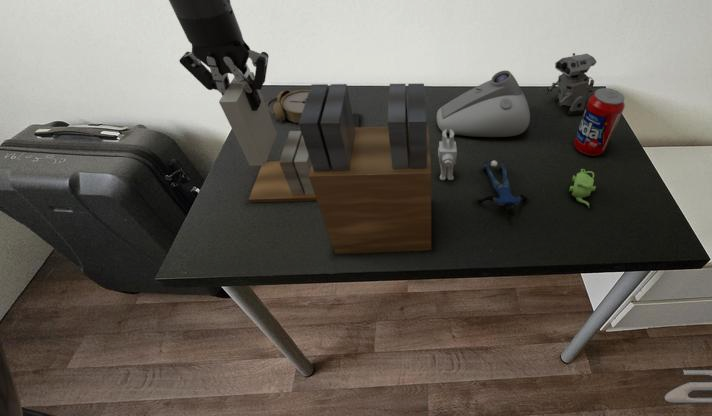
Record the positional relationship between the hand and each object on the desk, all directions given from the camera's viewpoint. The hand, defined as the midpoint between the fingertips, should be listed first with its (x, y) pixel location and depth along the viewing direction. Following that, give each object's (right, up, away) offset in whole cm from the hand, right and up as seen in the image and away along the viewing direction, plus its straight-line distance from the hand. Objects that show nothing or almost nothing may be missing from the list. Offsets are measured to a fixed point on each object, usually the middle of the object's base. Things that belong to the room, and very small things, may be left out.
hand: (246, 108), depth 67 cm
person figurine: (+48, -16, +14) cm, 52 cm away
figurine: (+69, +10, +38) cm, 80 cm away
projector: (+45, +4, +31) cm, 55 cm away
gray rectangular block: (0, -6, +7) cm, 10 cm away
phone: (+10, 0, +27) cm, 29 cm away
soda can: (+72, -3, +26) cm, 77 cm away
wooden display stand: (+2, -12, +14) cm, 19 cm away
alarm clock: (-3, +7, +32) cm, 33 cm away
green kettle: (+66, -16, +15) cm, 69 cm away
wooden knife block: (+24, -22, +6) cm, 33 cm away
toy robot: (+36, -11, +18) cm, 42 cm away
